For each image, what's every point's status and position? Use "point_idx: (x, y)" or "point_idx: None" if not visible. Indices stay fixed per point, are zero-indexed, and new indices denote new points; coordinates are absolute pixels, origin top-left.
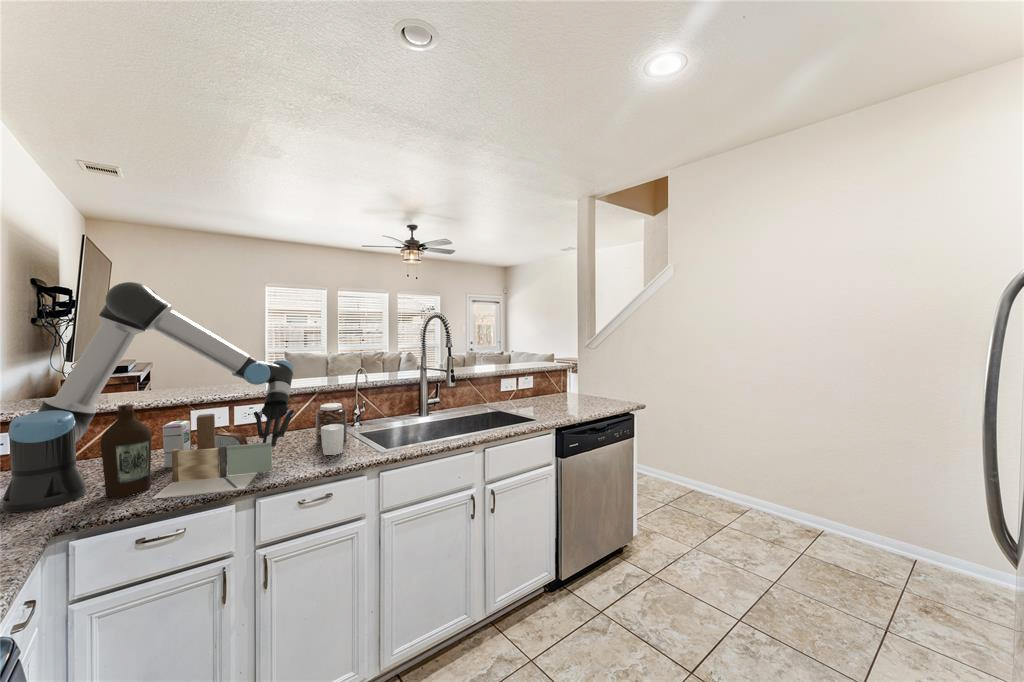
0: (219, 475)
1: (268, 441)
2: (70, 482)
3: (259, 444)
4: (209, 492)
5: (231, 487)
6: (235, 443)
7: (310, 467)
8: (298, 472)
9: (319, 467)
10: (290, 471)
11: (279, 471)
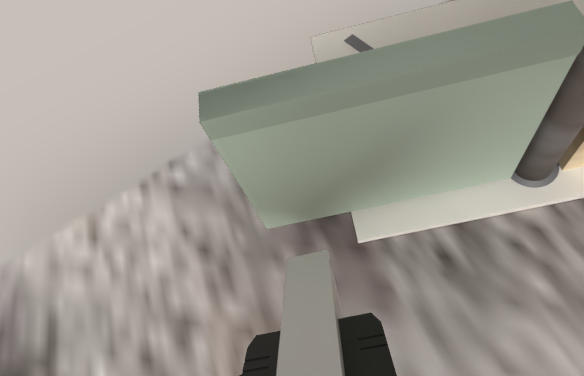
0: (562, 164)
1: (310, 326)
2: None
3: (289, 70)
4: (442, 5)
5: (373, 41)
6: None
7: (72, 301)
8: (128, 223)
9: (25, 294)
10: (172, 243)
11: (234, 249)
